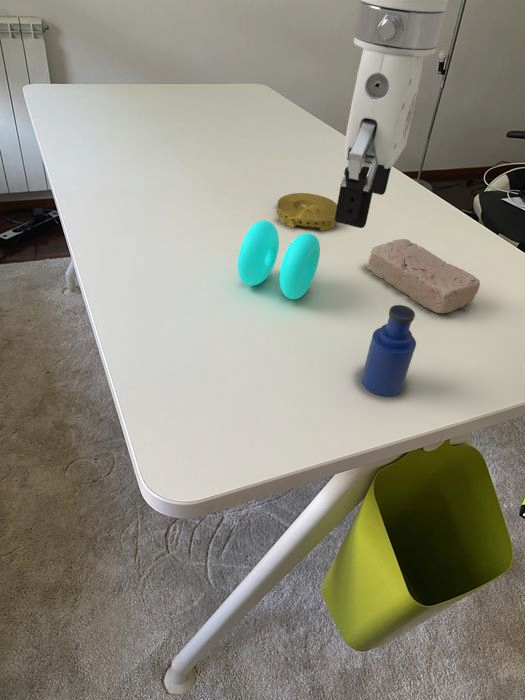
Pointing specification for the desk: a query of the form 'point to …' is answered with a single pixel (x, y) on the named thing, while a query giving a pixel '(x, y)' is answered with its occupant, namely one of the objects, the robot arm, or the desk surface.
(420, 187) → the desk surface
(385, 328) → the bottle
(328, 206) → the compass
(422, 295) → the brick
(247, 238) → the pair of turquoise discs
